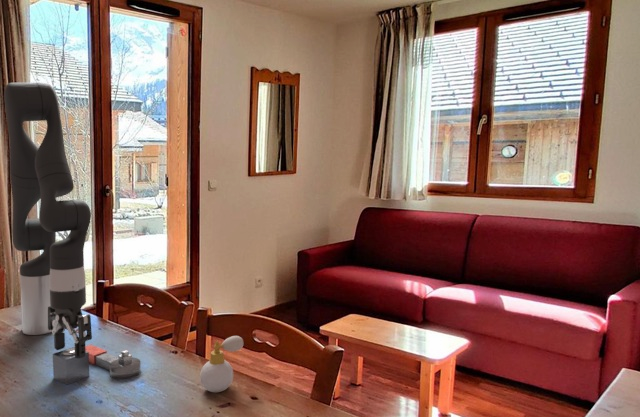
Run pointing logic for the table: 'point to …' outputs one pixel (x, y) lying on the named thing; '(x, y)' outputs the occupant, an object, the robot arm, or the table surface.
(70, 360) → the cube with chrome knob
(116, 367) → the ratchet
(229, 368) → the perfume bottle
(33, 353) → the table surface
